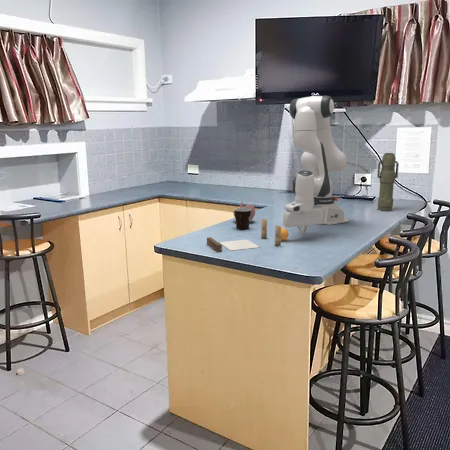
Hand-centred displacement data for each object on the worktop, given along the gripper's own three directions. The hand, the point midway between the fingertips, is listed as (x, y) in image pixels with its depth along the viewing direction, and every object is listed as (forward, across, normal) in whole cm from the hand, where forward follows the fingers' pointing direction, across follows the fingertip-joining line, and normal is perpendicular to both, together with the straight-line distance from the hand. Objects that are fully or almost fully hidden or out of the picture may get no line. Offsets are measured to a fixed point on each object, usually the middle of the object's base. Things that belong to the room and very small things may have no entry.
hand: (302, 234), depth 223 cm
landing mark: (+2, +33, 0) cm, 33 cm away
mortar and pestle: (+2, +12, -42) cm, 44 cm away
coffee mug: (+2, +20, -28) cm, 35 cm away
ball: (-1, +11, 0) cm, 11 cm away
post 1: (+2, +17, -7) cm, 19 cm away
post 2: (+2, +17, +7) cm, 19 cm away
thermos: (+2, -83, -41) cm, 93 cm away
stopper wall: (+2, +45, 0) cm, 45 cm away
